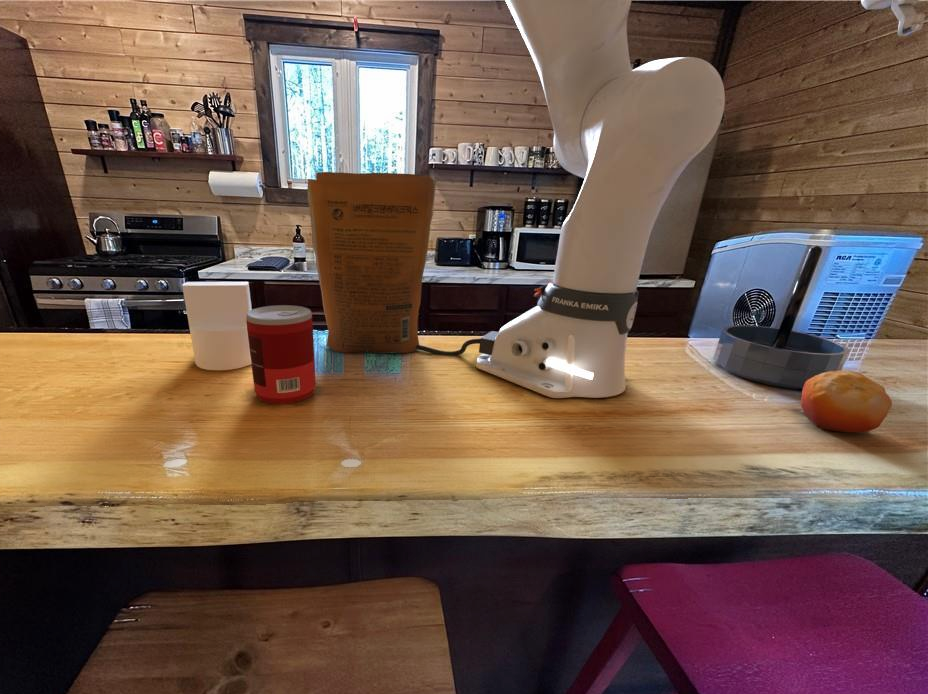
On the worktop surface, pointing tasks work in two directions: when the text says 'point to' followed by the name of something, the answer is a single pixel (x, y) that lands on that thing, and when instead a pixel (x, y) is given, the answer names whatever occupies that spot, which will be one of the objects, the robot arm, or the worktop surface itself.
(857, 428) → the fruit
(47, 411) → the worktop surface
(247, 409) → the worktop surface
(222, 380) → the worktop surface
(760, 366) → the bowl
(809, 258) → the long black rod
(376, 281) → the pancake mix bag
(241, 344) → the base with upright slab
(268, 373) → the canned food
